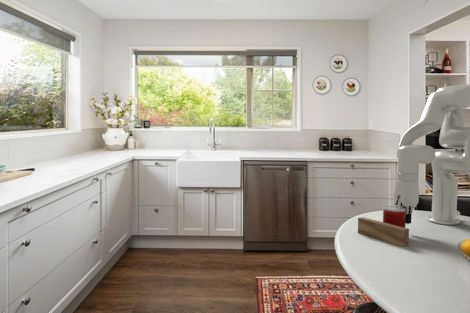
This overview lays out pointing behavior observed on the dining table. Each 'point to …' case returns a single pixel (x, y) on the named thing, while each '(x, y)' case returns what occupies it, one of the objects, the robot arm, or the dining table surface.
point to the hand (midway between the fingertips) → (406, 222)
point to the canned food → (394, 215)
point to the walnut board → (383, 231)
